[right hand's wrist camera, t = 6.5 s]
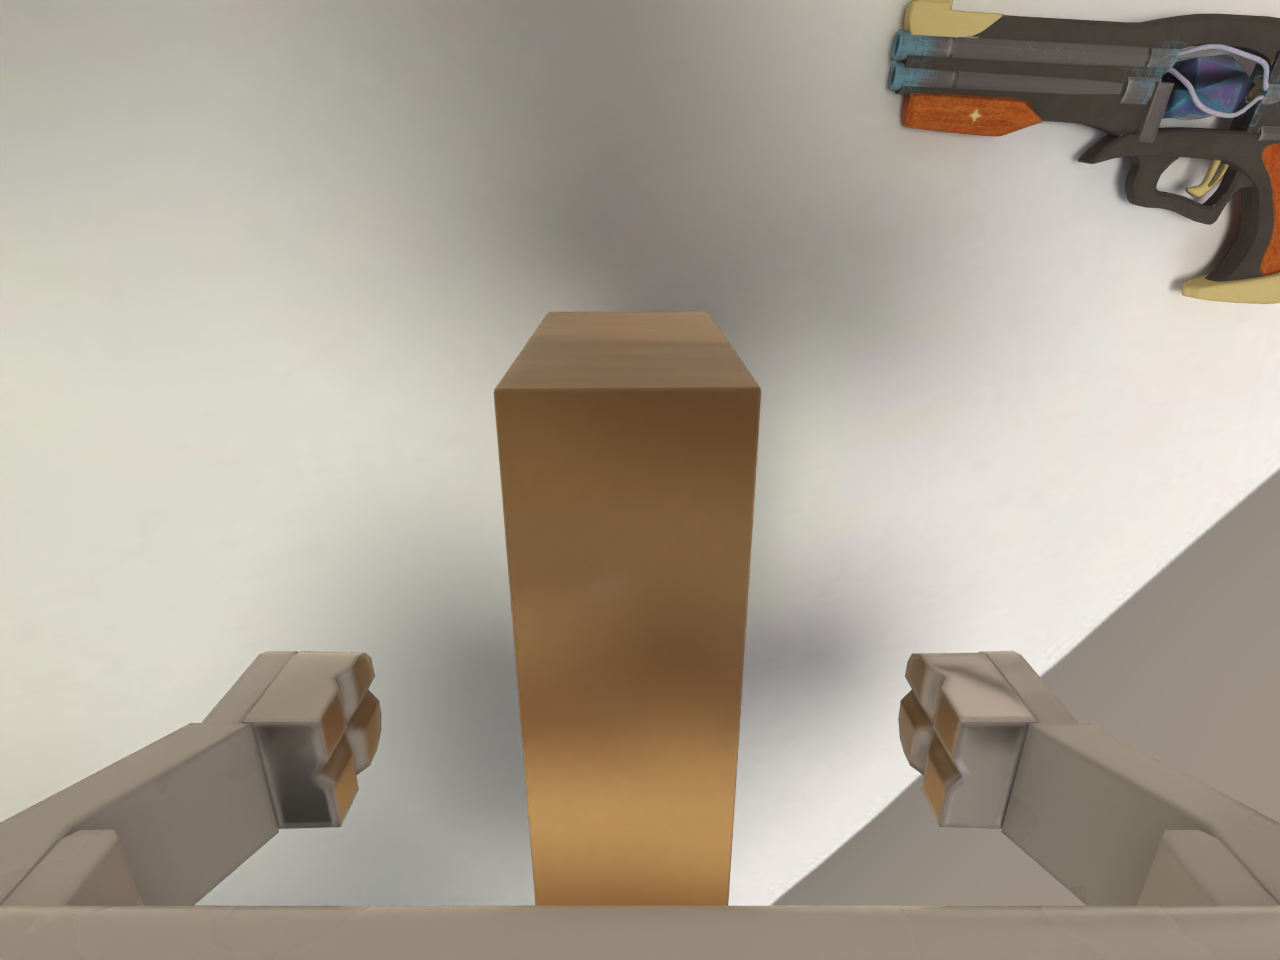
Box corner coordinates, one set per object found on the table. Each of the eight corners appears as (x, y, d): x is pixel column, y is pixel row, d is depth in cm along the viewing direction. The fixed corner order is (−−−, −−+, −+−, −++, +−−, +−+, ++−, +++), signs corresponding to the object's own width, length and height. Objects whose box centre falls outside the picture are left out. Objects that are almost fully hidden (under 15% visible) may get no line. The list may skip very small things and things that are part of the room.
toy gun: (1336, 313, 28) (1496, 15, 23) (857, 280, 29) (917, -17, 24) (1285, 296, 30) (1421, 23, 26) (845, 266, 31) (896, -7, 26)
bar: (547, 311, 20) (492, 388, 12) (708, 310, 20) (762, 387, 12) (577, 918, 29) (558, 1192, 21) (687, 917, 29) (709, 1189, 21)
